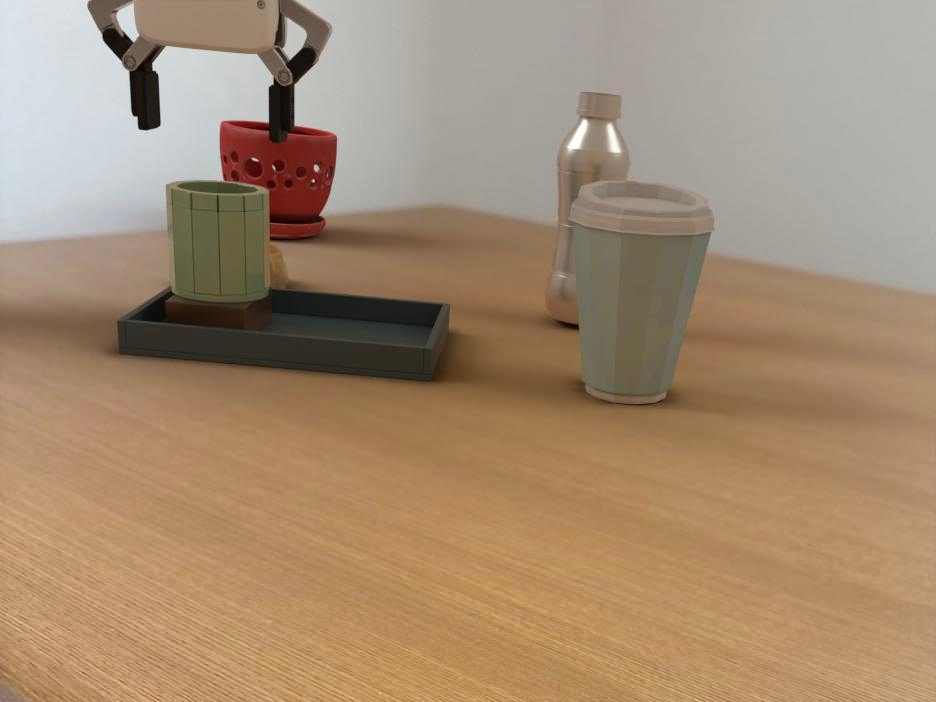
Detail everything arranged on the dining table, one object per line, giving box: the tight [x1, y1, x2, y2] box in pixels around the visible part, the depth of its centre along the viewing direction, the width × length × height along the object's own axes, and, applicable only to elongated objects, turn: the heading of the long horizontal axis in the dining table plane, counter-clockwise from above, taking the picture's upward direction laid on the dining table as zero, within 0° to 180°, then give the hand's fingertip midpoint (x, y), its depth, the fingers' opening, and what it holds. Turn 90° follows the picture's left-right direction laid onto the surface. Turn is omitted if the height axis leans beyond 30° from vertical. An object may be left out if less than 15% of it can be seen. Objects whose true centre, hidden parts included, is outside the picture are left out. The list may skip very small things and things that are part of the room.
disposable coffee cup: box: [568, 180, 716, 405], centre depth 83 cm, size 11×11×15 cm
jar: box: [165, 179, 271, 303], centre depth 88 cm, size 7×7×8 cm
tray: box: [116, 284, 451, 382], centre depth 90 cm, size 23×15×2 cm, turn 89°
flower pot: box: [218, 119, 338, 240], centre depth 131 cm, size 13×13×12 cm
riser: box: [165, 284, 272, 331], centre depth 90 cm, size 6×9×3 cm, turn 179°
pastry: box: [270, 244, 289, 289], centre depth 106 cm, size 9×7×4 cm
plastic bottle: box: [544, 91, 631, 327], centre depth 101 cm, size 6×7×20 cm
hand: (214, 135), depth 85 cm, fingers open, 9 cm apart
